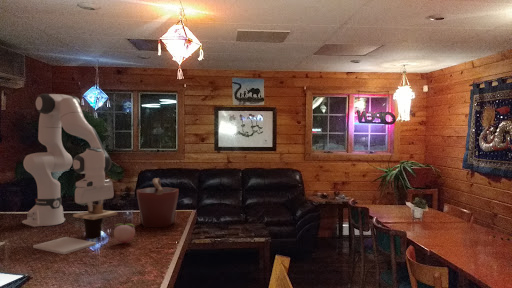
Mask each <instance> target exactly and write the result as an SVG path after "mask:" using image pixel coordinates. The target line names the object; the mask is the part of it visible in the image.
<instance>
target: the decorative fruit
mask: <svg viewBox="0 0 512 288" xmlns="http://www.w3.org/2000/svg"><path fill="white" fill-rule="evenodd" d="M113 228H114V230H113V236H114V238H115V240H116V241H118V242H119V243H122V244H126V243H129V242H130V241H132V240H133V239H134V237H135V236H136V230H135V228H136V226H135V224H133V223H126V222H125V221H124V222H123V223H117V224H115V225H114V226H113Z"/></svg>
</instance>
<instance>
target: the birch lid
mask: <svg viewBox="0 0 512 288" xmlns="http://www.w3.org/2000/svg"><path fill="white" fill-rule="evenodd" d="M92 206H93V207H94V211H89V206H88V205H87V211H82V212H77V213H73V214H72V217H73V218H78V219H79V218H80V219H83V220H84V219H91V220H95V219H100V218H103V219H105V218H108V217H111V216H116V215H118V211H113V210H105V209H104V208H103V207H104V204H102V205H99V204H98V203H93V204H92Z"/></svg>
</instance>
